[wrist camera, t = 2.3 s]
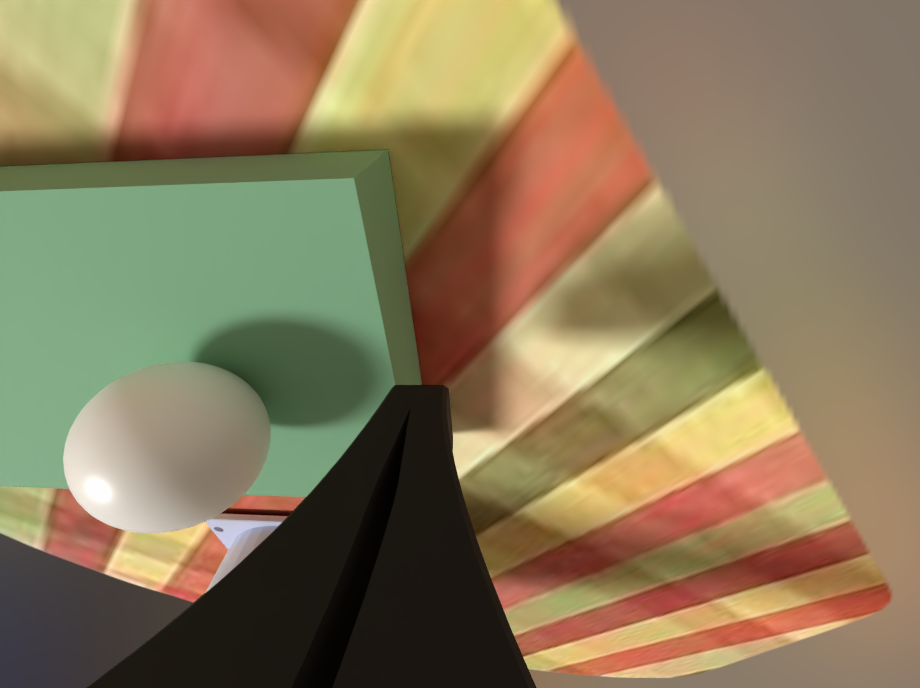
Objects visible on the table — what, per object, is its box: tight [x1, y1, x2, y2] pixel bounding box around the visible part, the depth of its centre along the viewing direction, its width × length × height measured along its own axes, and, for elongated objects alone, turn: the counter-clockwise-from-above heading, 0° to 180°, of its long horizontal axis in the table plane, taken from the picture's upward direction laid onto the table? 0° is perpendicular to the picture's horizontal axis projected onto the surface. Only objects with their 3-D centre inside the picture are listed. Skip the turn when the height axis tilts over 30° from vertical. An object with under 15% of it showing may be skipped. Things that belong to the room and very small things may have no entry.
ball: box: [63, 361, 271, 533], centre depth 9 cm, size 4×4×4 cm
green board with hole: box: [0, 150, 422, 497], centre depth 13 cm, size 13×26×5 cm, turn 93°
